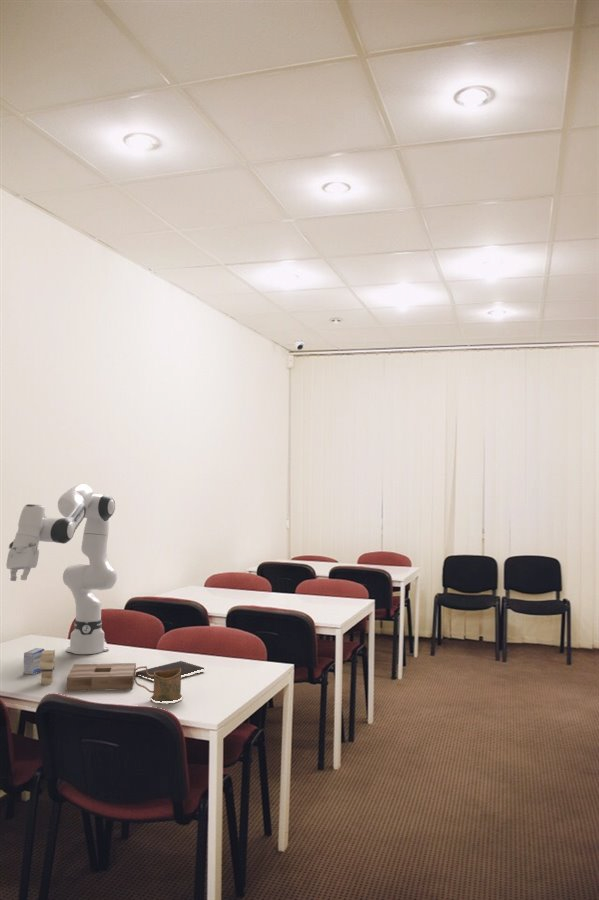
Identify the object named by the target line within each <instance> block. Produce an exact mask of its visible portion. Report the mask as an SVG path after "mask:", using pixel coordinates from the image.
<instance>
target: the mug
mask: <svg viewBox="0 0 599 900" xmlns="http://www.w3.org/2000/svg"><path fill="white" fill-rule="evenodd" d="M139 669H145V670H146V673H147V675H148V676H151V677H154V681H153V690H150V689H149V688H148V687H146V686H145V685H142V684H141V683H140V684H139V682H137V679H136V673H135V672H137V671H138V670H139ZM147 669H148V667H147V666H146V665H145V666H138V667H136V669H135V671H134V684H136V685H137V686H139V687H141V688H143V689H145V690H146V691H147V692H149V693H151V694H152V696H151V697H150V699H151V698H152V699H153V700H155V701H160V702H162V701H173V700H178V699H180V698H181V697H182V696H183V695H182V694H181V692H182V691H181V690H182V681H181V680H182V678H181V668H179V669H173V670H168V671H155V672H154V675H150V674H148V672H147Z"/></svg>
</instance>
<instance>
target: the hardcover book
mask: <svg viewBox="0 0 599 900" xmlns="http://www.w3.org/2000/svg"><path fill="white" fill-rule="evenodd" d="M179 668H181V675H184V674H188V673H191V672H194V671H197V670H201V669H204V668H205V667H202V666H199V665H197V664H193V663H190V662H186V661H182V660H179V661H175V662H171V663H166V664H163V665H159V666H154V667H150V668H147V672H148V674H150V675H154V672H155V671H168V670H173V669H179ZM204 670H205V669H204ZM136 675H141V676H144V677H147V678H151V679H154V677H151V676H148V675H147V673H146V669H143V670H136V673H135V676H136Z"/></svg>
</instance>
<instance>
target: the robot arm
mask: <svg viewBox="0 0 599 900" xmlns="http://www.w3.org/2000/svg"><path fill="white" fill-rule="evenodd" d="M57 509H58V511H59V513H60V514H61V515H62V517H48V516H47V515H46V514H45V511H46V509H45V506H44V505H41V504H29V503H28V504H26V505H24V507H23V509H22V510H21V513H20V516H19V520H18V522H17V526H18V527H17V528H18V529H17V532H16V534H15V537H14V539H13V540H12V541H11V542H10V543H9V545H8V550H9V551H8V553H7V558H6V569H8V570H10V579H9V580H10V581H11V582H16V581H17V579H18V576H17V573H18V570H23V571H22V573H21V575H20V580H21V581H27V579H28V575H29V574H30V573H31V569H35V568H36V567H37V565H38V560H39V555H40V550H39V544H40V542H44V543H45V542H46V543H56V544H67V543H68V542H70V541H71V540H72V539H73V537H74V534H75V532H76V530H77V529H78V527H79V526H80V524H81V523H82V521H83V520H84V519H86V521H85V524H84V528H83V535H82V542H81V552H82V554H83V555H84V556H86V557H87V558H88V560H89V564H78V563H77V564H73V565H69V566H67V567H66V568H65V569H64V570H63V573H62V581H63V583H64V585H65V586H66V587H68V589H69V590H70V591H71V593H72V595H73V599H74V601H75V603H74V604H75V620H74V626H73V627H74V629H73V630H72V632H71V633H70V639H69V640H70V641H69V646H68V647H66V648H65V652H68V653H72V654H75V655H92V654H93V655H94V654H99V653H103V652H107V651H110V650H109V649H110V648H109V646H108V643H107V641H106V639H105V632H104V630H103V627H102V626H103V625H102V624H103V619H102V602H101V600H100V599H99V598H98V597H96V596H95V595H94V593H93V591H94V590H95V591H106V590H111V589H112V588H113V587H114V586H115V585H116V583H117V579H118V576H117V572H116V570H115V569H114V568H113V566H111V564H110V562H109V560H108V559H109V558H108V555H107V554H108V553H107V548H108V538H109V524H110V523H109V519H110V518H111V517H112V516H113V514H114V513H115V510H116V502H115V500H114V498H113V496H110V495H107V494H98V493H97V494H96V493H94V491H93V489H92V488H91V487H90V486H89V485H87V484H83V483H79V484H77V485H75V486H73V487H71V488H70V489H68V490H67V491H65V492H64V493H63V494H61V496H60V497H59V499H58V500H57Z"/></svg>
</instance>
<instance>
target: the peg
mask: <svg viewBox="0 0 599 900" xmlns="http://www.w3.org/2000/svg"><path fill="white" fill-rule="evenodd" d="M55 653H56V650H55V649H47V650H45V649H44V650H43V651H42V652H41V661H40V671H39V672H40V673H41V674H40V685H51V684H52V683H53V674H54V673H53V672H54V670H55V658H56V657H55V656H56V655H55Z"/></svg>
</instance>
